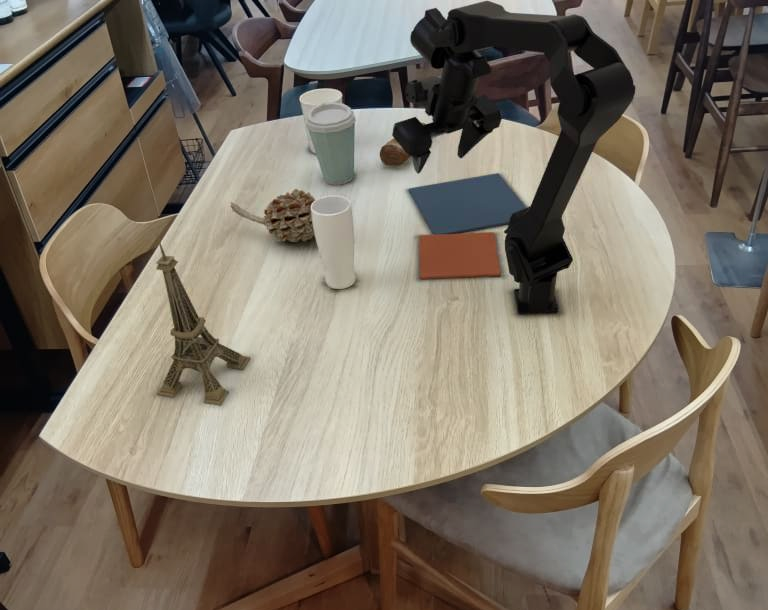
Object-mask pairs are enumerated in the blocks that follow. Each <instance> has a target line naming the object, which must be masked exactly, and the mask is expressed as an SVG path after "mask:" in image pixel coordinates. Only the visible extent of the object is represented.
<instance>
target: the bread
mask: <svg viewBox="0 0 768 610" xmlns="http://www.w3.org/2000/svg"><path fill="white" fill-rule="evenodd" d="M421 123H422V125H426V124H427V123H425V122H421ZM379 150H380V151H379V158H380V161H381V163H382V164H383V165H385V166H392V167H399V166H402V165H404V164H405V163H406V162H408V160H409V159H410V158H412V156H409V155H408V154H407V153H406V152H405V150H404V149H403V148H402V147H401V146H400V144H399V143H398V142H397V141H396V140H395V138H394V137H393V138H391V140H389V141H388V142H386V143H384V144H383V145H382V146H381V147H380V149H379Z"/></svg>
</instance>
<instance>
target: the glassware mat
mask: <svg viewBox="0 0 768 610" xmlns="http://www.w3.org/2000/svg"><path fill="white" fill-rule="evenodd" d="M408 192H409V194H410V196H411V197H412V200H413V201H414V203H415V204H416V206H417V208H418V210H419V212H420V213H421V216H422V217H423V218H424V220H425V222H426V224H427V226H428V228H429V230H430V231H431V233H432V235H438V234H463V233H468V232H471V231H472V232H473V231H478V230H483V229H488V228H495V227H501V226H504V225H509V221H510V217H511V215H512V214H513V213H514V212H517V211H519V210H522V209H524V208H527V206H526V205H525V204H524V203H523V201H522V200H521V199H520V198H519V196H518V195H517V194H516V193H515V192H514V190H513V189H512V188H511V187H510V185H509V184H508V183H507V182H506V181H505V179H504V178H503V177H502V176H501V175H500V173H499V172H497V173H491V174H486V175H480V176H479V175H478V176H475V177H467V178H463V179H456V180H451V181H444V182H441V183H440V182H439V183H433V184H428V185H421V186H416V187H410V188H409V187H408Z"/></svg>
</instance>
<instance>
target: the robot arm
mask: <svg viewBox="0 0 768 610" xmlns="http://www.w3.org/2000/svg"><path fill="white" fill-rule="evenodd" d="M409 41H410V44H411V46H412V47H413V48H414V49H415V50H416V52H417V53H418V54H419V55H420V56H421V57H422V58H423V59H424V60H425V61H426V62H427V63H428V64H429V66H431V68H432V69H435V70H441V69H442V71H441V75H440V77H439V76H437V75H435V76H433V75H432V76H429V77H425V78H422V79H418V80H417V79H413V80H410V81H407V83H406V86H405V99H406V101H407V102H409V103H411V104H413V105H416V104H418V105H420V106H423V107H425V108H424V113H425V114H426V115H427V116H428V117H430V116H431V117H432V118H431V119H432V122H429V123H425V124H426V125H422V123H423V122H422V121H420V120H419V118H417V116H412V117H410V118H407V119H404V120H400V121H397V122H394V124H393V128H392V134H391V136H392V137H393V138H395V140H396V141H397V142H398V143H399V144H400V146H401V147H402V148H403V149H404V150H405V152H406V153H407V154H408V155H409V156H411V161H412V165H413V168H414V171H415V172H416V174H420V173H421V172H422V171H423V169H424V167H425V165H426V164H427V162H428V159H429V157H430V155H431V153H432V151H431V150H430V149H431V148H432V146H433V139H435V138H437V137H440V136H443V135H446V134H447V135H448V134H452V133H454V132H457V131H461V133H460V137H459V142H458V147H457V152H456V153H457V157H458V158H459V159H463V158H464V157H465V156H466V155H467V154H469V152H470V151H471V150H473V148H474V147H476V146H477V144H479V143H480V142H481V141H482V140H484V138H486V137H487V136H488V135H489V134H491V133H493V131H494V130H495V129H498V128H500V125H501V122H502V120H503V114H502V110H500V108H499V107H498V106H497V105H496V104H495V103H494V102H493V101H492V100H491V99H490V98H489V97H488V96H487V95H486V94H482V95H479V96H477V95H476V90H477V87H478V83H479V79H480V78H483V77H487V76H489V75H491V74H492V72H493V71H492V68H491V65H490V64H489V62H488V60H487V57H486V55H482V54H480V52H478V50H482V49H486V48H487V49H488V48H499V49H506V50H516V51H523V52H531V53H541V54H544V56H545V58H546V59H547V61H548V71H549V84H550V88H551V89H552V91H553V92H554V94H555V96H556V97H557V99H558V101H559V103H558V108H557V112H556V113H557V117H558V122H559V125H560V133H559V135H558V138H557V140H556V142H555V145H554V147H553V150H552V152H551V154H550V157H549V159H548V162H547V164H546V167H545V169H544V172H543V174H542V177H541V178H540V181H539V184H538V186H537V189H536V191H535V194H534V196H533V199H532V201H531V204H530V205H529V206H526V208H524V209H522V210H519V211H517V212H514V213H513V214H512V215H511V217H510V221H509V224H507V228H506V229H505V230H504V231H503V233H504V234H505V237H504V251H505V257H506V262H507V263H506V264H507V268H508V274H509V275H511V276H512V277H513V281H514V283H519V284H518V288H514V289H513V294H514V296H513V297H514V300H515V302H514V303H515V306H516V312H517V314H519V315H540V314H541V315H542V314H543V315H544V314H557V313H559V305H558V302H557V299H556V286H557V279H558V278H557V277H558V273H559V272H561V271H563V270H567V269H569V268H570V266H571V265H572V263H573V261H574V259H573V256H572V254H571V252H570V249H569V248H568V245H567V243H566V241H565V239H564V235H565V230H566V227H565V224H564V221H563V215H564V213H565V211H566V208H567V207H568V205H569V204H570V203H569V202H570V200H571V199H572V196H573V194H574V192H575V190H576V188H577V185H578V183H579V181H580V179H581V176H582V175H583V173H584V171H585V168H586V167H587V165H588V162H589V161H590V158H591V155H592V154H593V152H594V150H595V147H596V145H597V143H598V141H599V140H600V139H601V138H602V137H603V136H604V135H605V134H606V133H607V132H608V131H609V130H610V129H611V128H612V127H613V126H614V125H615V124H616V123H617V122H618V121H619V120H620V119H621V118H622V116H623V115H624V113H625V112H626V110H627V109H628V108H629V106H630V105H631V103H632V102H633V100H634V97H635V94H636V85H635V83H634V78H633V76H632V74H631V71H630V70H629V68H627V66H626V64H625V62H624V61H623V59H622V57H621V56H620V54H619V52H618V51H617V49H616V48H615V47H613V46H612V45H611V44H609V43H608V42H607V41H606V40H604V39H603V38H602V37H601V36H599V35H598V34H596V33H595V32H594V31H593V29H592V27H591V26H590V24H589V22H588V21H587V19H586V18H585V17H584V16H582V15H578V14H575V13H574V14H569V15H553V14H537V13H524V12H523V13H520V12H510V11H507V10H506V9H505V8H504V6H503V5H502V4H499V3H496V2H493V1H490V0H484V1H479V2H475V3H472V4H468V5H464V6H460V7H456V8H452V9H450V10H449V11H448V12H447V16H446V17H444V15H443V14H442V12H441V11H440V10H439V9H438V8H437V7H434V8H433V7H432V8H428V9H426V10H424V15H423V17H422V18H421V19H419V21H418V22H417V23H416V24H415V25H414V27H413V30H412V31H411V32H410V38H409ZM571 52H573V53H574V54H575V56H576V57H578V58H579V59H581V60H582V61H584V62H585V63H586V64H588V66H589V67H591V68H592V69H589V70H586V71H582V72H579V73H576V74H574V72H573V70H572V68H571V66H570V63H569V62H570V61H569V53H571Z"/></svg>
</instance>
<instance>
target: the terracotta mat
mask: <svg viewBox="0 0 768 610" xmlns="http://www.w3.org/2000/svg"><path fill="white" fill-rule="evenodd" d="M489 277H490V278H491V277H501V268H500V263H499V257H498V251H497V243H496V238H495V233H494V231H491V232H462V233H456V234H438V235H433V234H420V235H419V280H428V279H429V280H431V279H459V278H460V279H461V278H462V279H463V278H489Z"/></svg>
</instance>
